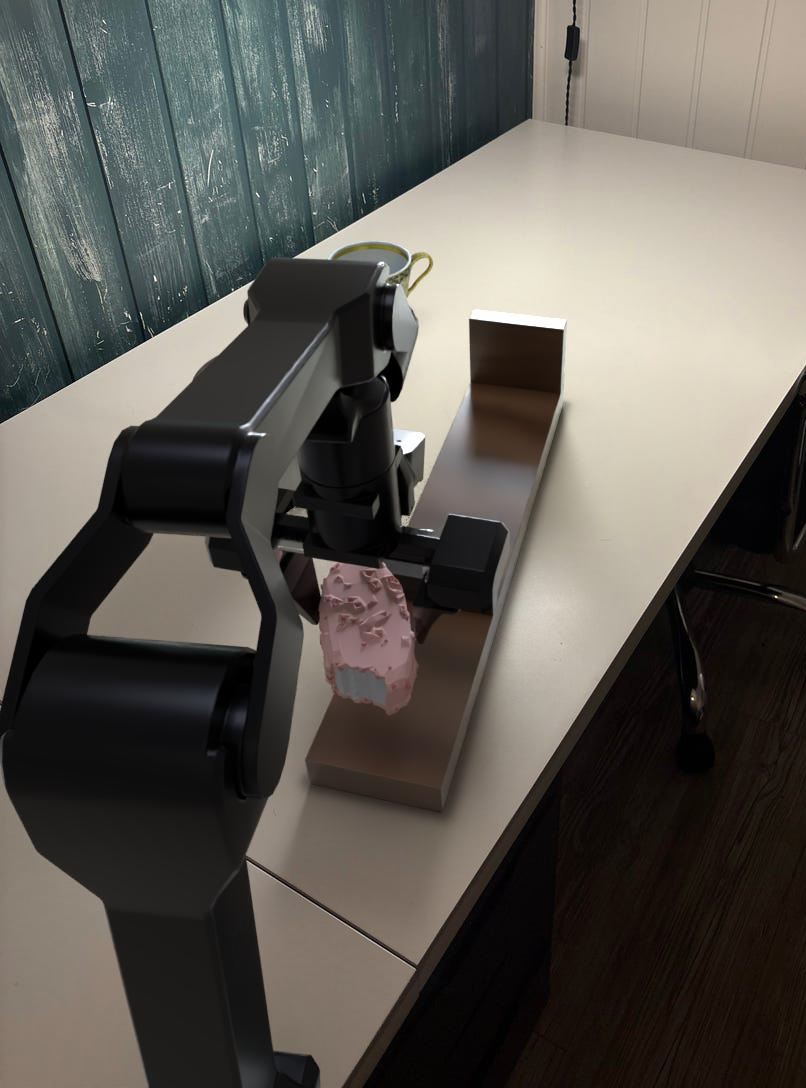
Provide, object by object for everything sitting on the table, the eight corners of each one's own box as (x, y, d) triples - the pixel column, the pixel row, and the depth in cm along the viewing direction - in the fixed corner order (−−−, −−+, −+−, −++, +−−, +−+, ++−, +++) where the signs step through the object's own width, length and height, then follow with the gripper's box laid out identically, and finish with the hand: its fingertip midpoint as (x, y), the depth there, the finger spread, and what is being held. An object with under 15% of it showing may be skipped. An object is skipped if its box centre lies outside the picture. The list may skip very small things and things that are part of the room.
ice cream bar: (392, 520, 70) (427, 676, 59) (393, 561, 73) (428, 719, 61) (306, 531, 69) (325, 693, 58) (311, 573, 71) (331, 736, 60)
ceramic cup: (349, 362, 112) (341, 287, 106) (324, 322, 119) (315, 250, 113) (450, 337, 116) (448, 263, 110) (420, 300, 123) (416, 229, 117)
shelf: (442, 812, 67) (435, 719, 60) (310, 783, 69) (288, 689, 62) (562, 405, 105) (567, 319, 98) (475, 394, 107) (473, 309, 100)
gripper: (528, 397, 60) (524, 568, 70) (255, 362, 64) (288, 529, 74) (489, 514, 52) (491, 690, 62) (177, 467, 55) (226, 640, 65)
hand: (370, 629), depth 66 cm, fingers closed on ice cream bar, 7 cm apart
